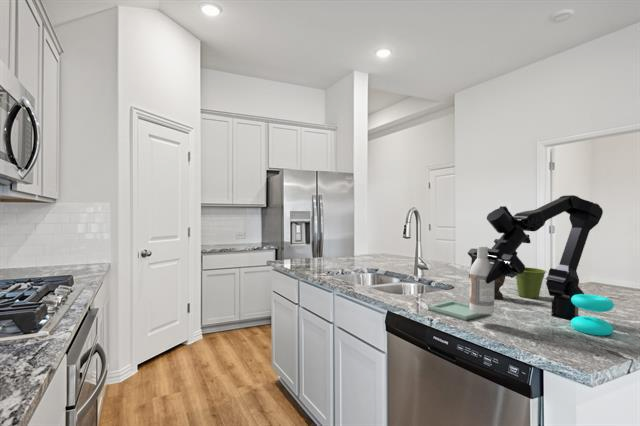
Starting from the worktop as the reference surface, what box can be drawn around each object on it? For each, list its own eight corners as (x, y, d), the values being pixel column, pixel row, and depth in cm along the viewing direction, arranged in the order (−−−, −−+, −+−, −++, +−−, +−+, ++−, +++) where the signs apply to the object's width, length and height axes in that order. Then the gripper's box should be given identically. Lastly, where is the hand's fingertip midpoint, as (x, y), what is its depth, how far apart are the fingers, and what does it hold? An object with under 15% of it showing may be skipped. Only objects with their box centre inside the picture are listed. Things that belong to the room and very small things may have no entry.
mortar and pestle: (517, 299, 141) (518, 249, 141) (506, 302, 136) (507, 250, 136) (488, 293, 151) (489, 246, 151) (477, 296, 145) (478, 247, 145)
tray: (488, 313, 121) (488, 309, 121) (465, 320, 112) (465, 316, 112) (451, 304, 132) (451, 300, 132) (428, 310, 123) (428, 305, 123)
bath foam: (469, 307, 115) (470, 244, 114) (493, 310, 112) (494, 246, 112) (468, 312, 108) (469, 246, 108) (494, 315, 105) (495, 248, 105)
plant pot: (516, 298, 143) (516, 270, 143) (509, 292, 154) (510, 266, 154) (549, 301, 140) (550, 272, 140) (540, 294, 151) (541, 268, 151)
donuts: (614, 303, 98) (569, 297, 104) (613, 339, 98) (568, 331, 104) (614, 297, 106) (572, 291, 112) (613, 330, 106) (572, 323, 112)
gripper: (548, 265, 105) (517, 305, 102) (500, 257, 123) (472, 291, 120) (527, 239, 103) (494, 279, 100) (481, 234, 121) (452, 268, 118)
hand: (478, 280), depth 110 cm, fingers closed on bath foam, 7 cm apart
